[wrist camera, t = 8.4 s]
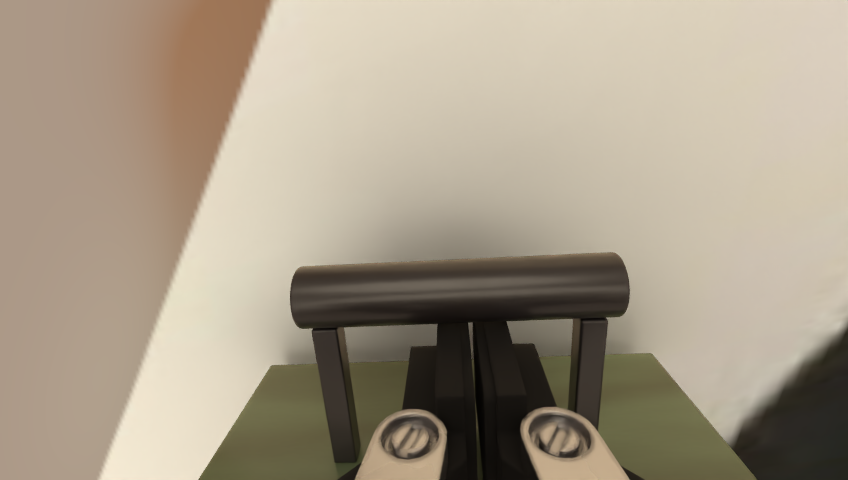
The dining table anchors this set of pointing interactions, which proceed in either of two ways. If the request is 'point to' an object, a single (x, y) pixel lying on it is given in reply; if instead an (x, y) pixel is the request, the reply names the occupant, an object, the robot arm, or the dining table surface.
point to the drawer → (464, 303)
